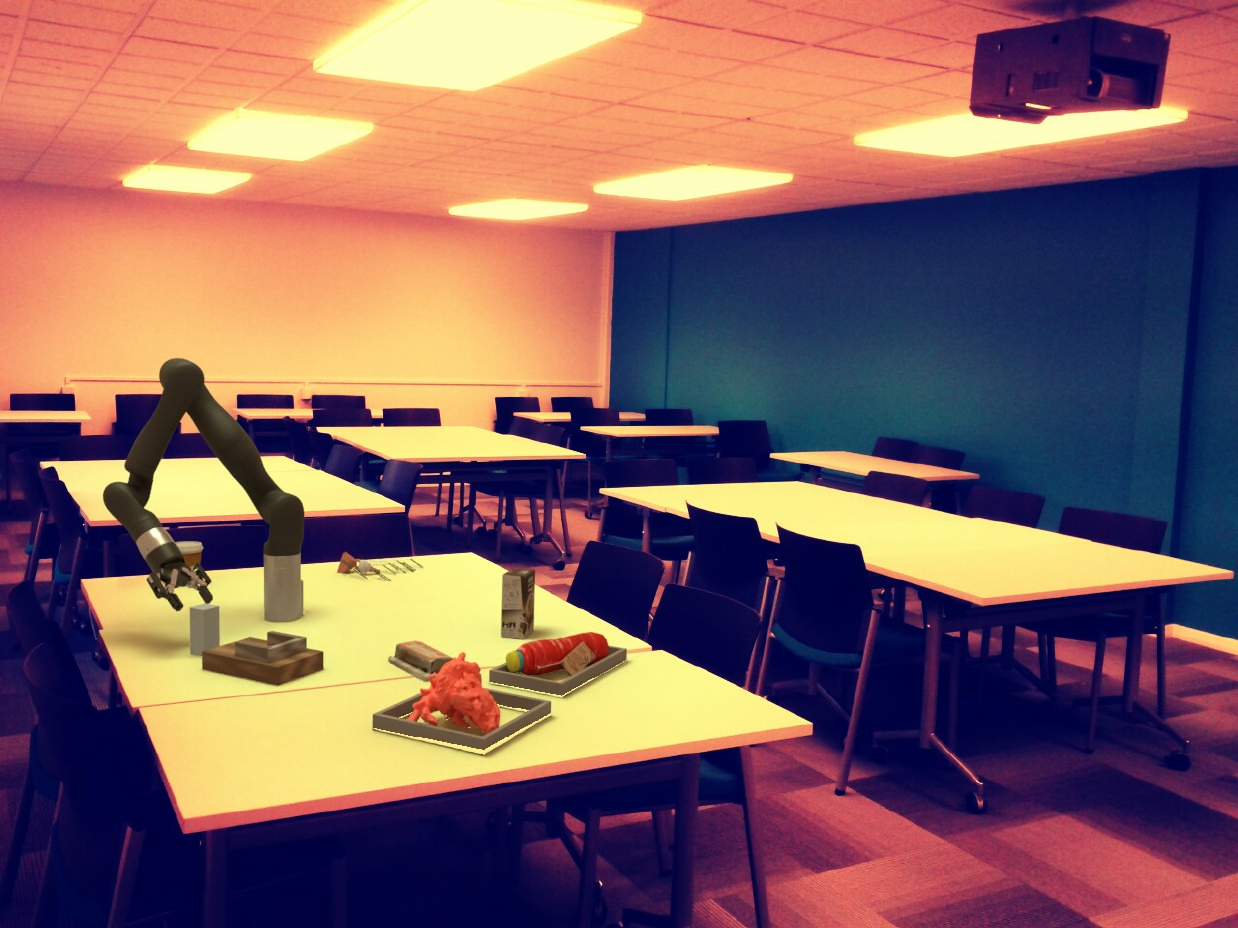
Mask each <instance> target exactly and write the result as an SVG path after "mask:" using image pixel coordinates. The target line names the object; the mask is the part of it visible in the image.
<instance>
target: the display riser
mask: <svg viewBox="0 0 1238 928" xmlns="http://www.w3.org/2000/svg"><path fill="white" fill-rule="evenodd" d="M307 641H308V638H307V637H306V636H300V635H295V634H290V633H285V632H279V631H275V630H271V631H268V632H266V639H264V638H258V637H253V636H249V637H245V638H242V639H239V640H235V641H232V642H229V643H226V644H222V645H220V646H218V647H215V648H212V649H209V650H205V651H202V656H201V668H202V670H204V671H210V672H214V673H217V674H223V675H226V676H230V677H231V676H232V677H235V678H241V679H244V678H246V679H245V680H249V679H250V680H249V681H253V680H254V682H258V681H259V682H260V683H263V684H268V685H273V686H276V687H279V686H281V685H283V684H286V683H289V682H292V681H295V680H297V679H299V678H302V677H306V676H308V675H310V674H314V673H315V672H319V671H322V670H323V669H324V651H323V650H318V649H313V648H308V647H307ZM296 678H297V679H296ZM294 679H295V680H294Z"/></svg>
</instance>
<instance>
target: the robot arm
mask: <svg viewBox="0 0 1238 928" xmlns="http://www.w3.org/2000/svg"><path fill="white" fill-rule="evenodd" d="M158 379H159V383H160V385H161V387H162V393H161V396H160V399H159V402H158V404H157V406H156V408H155V410H154V411H153V413H152V415H151V417H150V418H149V420H148V421H147V422H146V424H145V425H144V426H143V428H142V429H141V430H140V432H139V434H138V435H137V437H136V439H135V441H134V442H133V444H132V447H131V449H130V451H129V453H128V455H127V457H126V458H125V461H124V465H123V467H124V469H125V471H126V472H127V473H129V477H128V480H127V482H123V481H114V482H110V483H109V484H108V485H106V486H105V488H104V490H103V492H102V499H103V500H102V501H103V503H104V505H105V508H106V509H107V510H108V512H109V513H110V514H111V515H112V516H113V518H115V520H116V521H118V523H119V524H120V525H121V526H123V528H125V529H126V531H127V532H128V533H129V535H130V537H131V538H132V540H133V541H134V543H135V544H136V546H137V548H138V551H139V552H140V554H141V556H142V557H143V559H144V561H145V562H146V563H147V565H148V567H149V568H150V569H151V571H152V572H151V573H150V574H149V575H148V577H147V578H146V582H147V583H148V585H149V588H150V589H151V591H152V592H153V594H154V596H155V598H156V599H158V600H160V599H165V600H166V601H168V603H169V604H170V607H171V608H172V609H173V610H175V611H176V612H180V611H181V610H182V609H184V608H183V607H184V603H183V602H182V601H181V599H180V598H179V596H178V595H177V593H175V589H178V588H181V587H187V588H189V589H194V590H195V591H197V592H198V594H199V595H200V598H201V599H202V601H203V602H204V604H205V603H206V604H211V602H212V601H213V600H214V595H213V594H212V592H211V591H210V590H209V587H208V586H209V585H210V584H211V583H212V579H211V578H210V576H209V575H208V574H207V572H206V570H205V569H204V567H203V566H202V565H201V563H200V564H199V563H196V564H195V565H194V566H191V567H189V566H188V565H187V564H186V563H185V558H184V556H183V554H182V553H181V551H180V550H179V548H178V546H177V545H176V543H175V540H174V539H173V538H172V536H171V535H170V533H169V532H168V531H167V530H166V529H165V528H164V526H163V524H162V522H161V521H160V520H159V517H157V516H156V514H155V513H154V512H152V511H150V510H148V509H147V508H145V507H146V506H147V504H148V502H149V500H150V497H151V494H152V489H153V484H154V477H155V473H156V470H157V469H158V467H159V464H160V463H161V461H162V458H163V456H164V454H165V452H166V450H167V448H168V446H169V443H170V441H171V440H172V438H173V435H174V433H175V431H176V430H177V428H178V426H179V424H180V422H181V420H183V418H184V416H185V414H186V413H187V415H188V416H189V417H190V419H191V421H192V422H193V424H194V426H195V427H196V429H197V430H198V432H199V434H200V435H201V437H202V438H203V439H204V441H205V443H206V444H207V445H208V447H209V449H210V450H211V451H212V453H213V454H214V455H215V457H216V458H217V459H218V461H219V462H220V463H221V464H222V466H223V467H224V468H225V469H226V470H227V471H228V472H229V474H230V475H231V476H232V477H233V478H234V480H235V481H236V482H237V483H238V485H239V486H241V488H242V489H243V490H244V492H245V493H246V494H247V497H248V498H249V500H250V501H251V503H252V505H253V506H254V507H255V509H256V511H257V513H258V514H259V516H260V518H261V519H262V520H263V521H264V522H265V523H266V524H267V525H269V531H268V532H269V533H268V539H267V541H265V542H264V544H263V609H264V610H263V614H264V615H263V619H264V620H266V621H268V622H275V623H277V622H280V623H281V622H291V621H295V620H298V619H300V618H302V617H303V616H304V580H303V579H302V578H301V577H302V573H301V572H302V570H301V569H302V568H301V566H302V564H301V561H302V559H301V558H302V557H301V555H302V553H301V551H302V545H303V542H304V538H305V535H304V534H305V507H304V504H303V501H302V500H301V499H300V498H299V496H297V495H295V494H292V493H289V492H285V491H284V490H283V489H282V488H281V486H280V485H279V486H278V484H277V483H276V481H274V480H273V478H272V477H271V476H270V474H269V473H268V471H266V468H265V465H264V463H263V460H262V457H261V455H260V452H259V450H258V448H257V446H256V445H255V443H254V441H253V440H252V439H251V437H250V436H249V434H248V433H247V431H245V429H244V428H243V427H242V426H241V425H240V423H239V422H238V421H237V420H236V419H235V418H234V416H232V415H231V414H230V413H229V412H228V411H227V410H226V409H225V407H223V406H222V405H221V404H220V403H219V402H218V401H217V399H215V397H214V396H213V395H212V393H211V392H210V390H209V389H208V388H207V386H206V384H205V375H204V372H203V369H202V368H201V367H200V366H199V365H198V364H196V363H194V362H193V361H191V360H189V359H185V358H182V357H181V358H180V357H175V358H170V359H168V360H166V361H165V362H163V364H162V365H161V366H160V368H159V374H158ZM191 578H192V579H193V581H192V582H189V581H190V579H191ZM163 583H164V584H163ZM195 583H198V584H195Z"/></svg>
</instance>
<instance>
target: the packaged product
mask: <svg viewBox="0 0 1238 928" xmlns="http://www.w3.org/2000/svg"><path fill="white" fill-rule="evenodd" d="M453 658H454V657H452V656H450V655H449V654H446V653H444V652H442V651H440V650H438V649H436V648H435V647H432V646H431V645H428V644H427V643H425V642H423V641H420V640H411V641H406V642H399V643H397V644H395V651H394V656H389V657H387V659H388V663H389V662H390V664H392V665H393V664H394V665H393V666H395V667H397V668H398V669H400V670H402V671H404V672H405V673H406V674H409V675H411V676H413V677H415V678H417V679H418V678H419V680H420V679H421V680H420V681H422V680H423V682H425V681H427V682H430V681H429V676H430V675H431V676H432V679H435V678H436V677H433V673H434V672H436V675H438V673H439V671H440V669H441V668H442V666H443V665H444V664H446V663H447V662H449V661H452V660H453Z"/></svg>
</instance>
